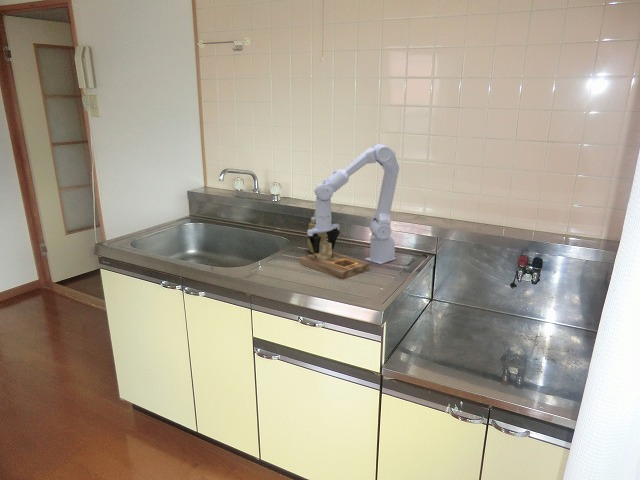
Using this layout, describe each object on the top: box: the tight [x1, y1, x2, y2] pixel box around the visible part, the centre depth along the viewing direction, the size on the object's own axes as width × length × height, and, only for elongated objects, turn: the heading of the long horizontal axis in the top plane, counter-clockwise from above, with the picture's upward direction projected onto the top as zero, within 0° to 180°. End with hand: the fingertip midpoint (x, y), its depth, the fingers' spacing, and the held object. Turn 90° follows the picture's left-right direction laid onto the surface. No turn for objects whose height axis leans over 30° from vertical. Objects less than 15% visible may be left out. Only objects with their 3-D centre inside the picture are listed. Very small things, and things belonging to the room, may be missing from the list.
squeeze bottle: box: [306, 208, 328, 254], centre depth 192 cm, size 8×8×18 cm
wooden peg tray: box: [299, 251, 371, 280], centre depth 176 cm, size 14×23×3 cm, turn 42°
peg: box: [317, 241, 333, 260], centre depth 179 cm, size 4×4×8 cm
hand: (323, 250), depth 179 cm, fingers open, 7 cm apart
